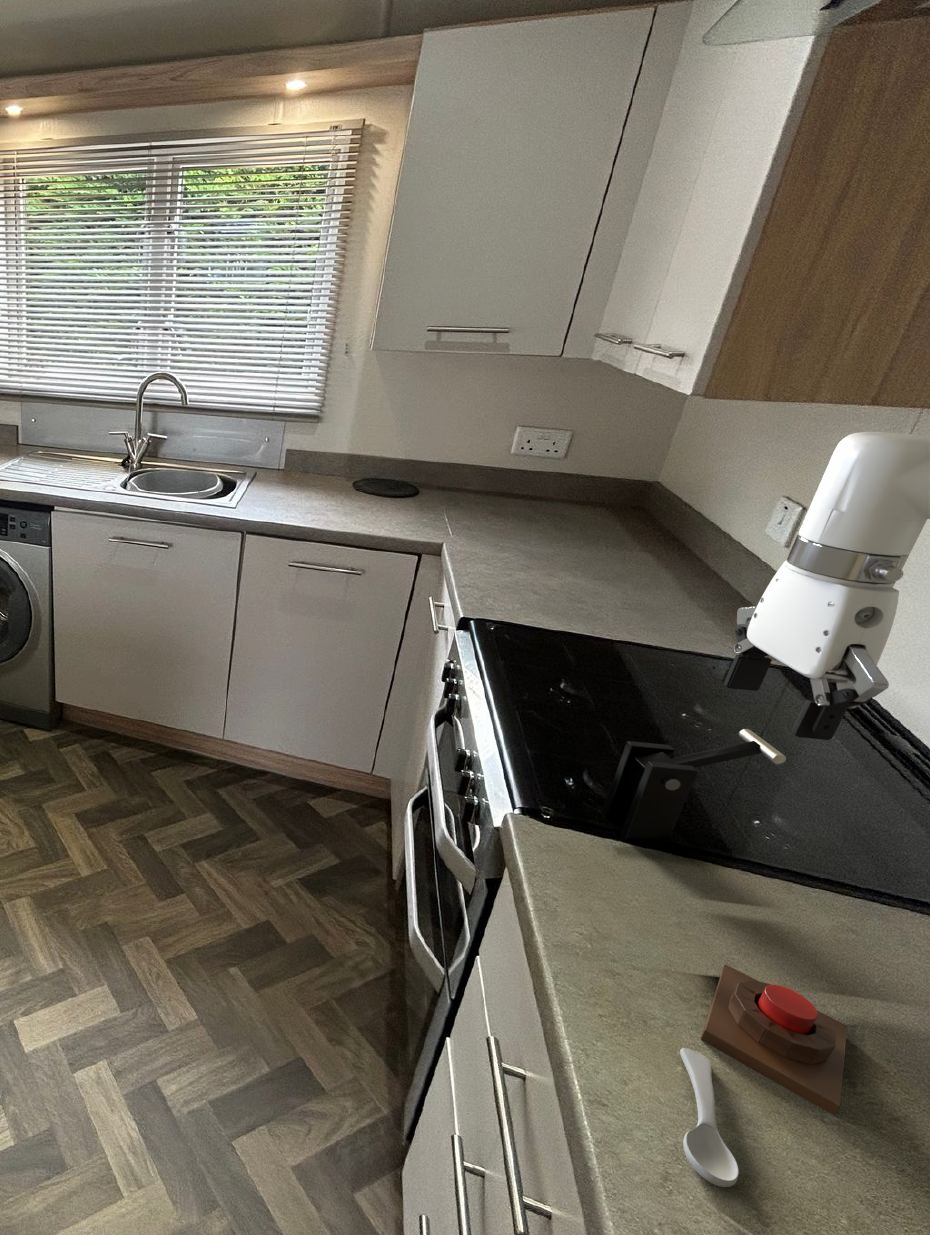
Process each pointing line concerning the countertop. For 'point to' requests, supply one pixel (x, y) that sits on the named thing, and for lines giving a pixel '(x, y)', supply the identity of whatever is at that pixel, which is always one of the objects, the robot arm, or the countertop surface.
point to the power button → (787, 1009)
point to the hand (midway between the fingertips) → (773, 711)
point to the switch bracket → (648, 794)
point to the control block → (776, 1042)
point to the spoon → (706, 1127)
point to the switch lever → (718, 753)
